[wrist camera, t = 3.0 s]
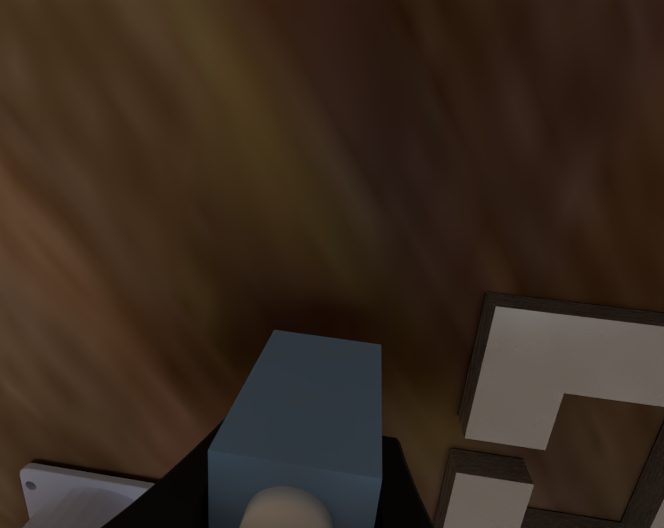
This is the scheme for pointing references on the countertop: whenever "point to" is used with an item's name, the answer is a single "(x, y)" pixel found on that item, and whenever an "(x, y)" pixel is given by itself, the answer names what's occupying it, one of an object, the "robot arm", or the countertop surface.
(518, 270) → the countertop surface
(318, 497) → the block
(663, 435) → the plate
